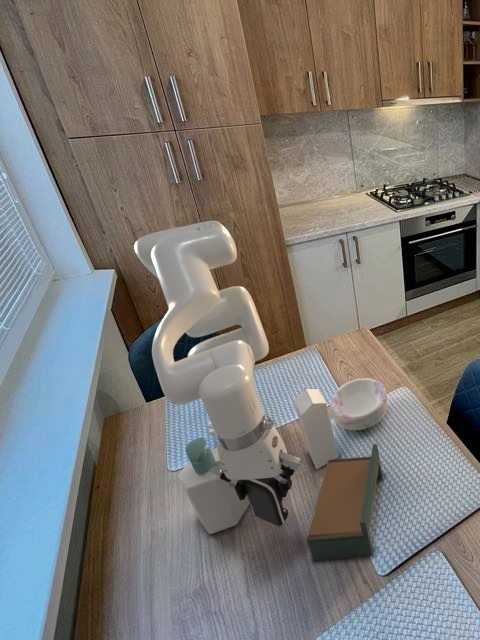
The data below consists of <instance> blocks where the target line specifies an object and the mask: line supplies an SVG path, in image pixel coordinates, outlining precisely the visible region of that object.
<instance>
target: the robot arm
mask: <svg viewBox="0 0 480 640" xmlns="http://www.w3.org/2000/svg"><path fill="white" fill-rule="evenodd" d="M133 246H134V252H135V254H136V256H137V258H138V259H139V260H140V262H141V263H142V264H143V266H144V267H145V268H146V269H147V270H148V271H149V272H150V273H151V274H153V275H154V277H156V278H158V281H159V284H160V287H161V290H162V293H163V296H164V299H165V302H166V304H167V308H168V310H167V311H166V313H165V315H164V317H162V320H161V321H160V323H159V324H158V326H157V329H156V331H155V334H154V336H153V339H152V343H151V344H152V346H151V357H152V361H153V365H154V368H155V372H156V375H157V378H158V383H159V384H160V388H161V391H162V393H163V395H164V397H165V398H166V399H167V400H168V402H170V403H171V404H173V405H176V406H182V405H187V404H190V403H193V402H195V401H198V400H200V399H201V402H202V404H203V407H204V410H205V411H206V413H207V416H208V418H209V422H208V424H207V428H208V431H207V432H208V435H209V436H212V435H216V437H217V442H216V443H217V444H216V445H217V446H216V448H217V447H218V456H219V461H218V462H217V463H215V464H214V465H213V467H212V469H211V471H210V472H211V473H213V474H215V475H217V476H220V479H222V480H224V481H226V482H229V486H230V487H234V488H235V491H236V493H237V495H238V497H239V499H240V500H244V499H245V497H246V495H247V494H246V491H245V489H244V482H245V480H246V479H260V478H271V477H274V478H275V479H276V480H278V481H279V483H278V487H279V490H280V493H281V495H282V497H283V498H286V497H287V495H288V492H289V491H290V490H291V489H292V485H293V481H292V480H293V479H292V477H293V475H294V474H295V472H296V471H297V470H298V469H299V468H300V467H301V463H302V459H301V458H300V457H297V456H294V455H291V454H289V453H288V451H287V448H286V446H285V443H284V441H283V439H282V437H281V434H280V433H279V431H278V430H277V429H276V427H275V426H274V421H273V420H269V419H268V417H267V416H266V415H265V414H264V412H263V409H262V405H261V402H260V400H259V396H258V394H257V391H256V388H255V384H254V366H255V364H256V362H258V361H260V360H262V359H264V358H265V357H266V356H267V355H268V354H269V351H270V348H269V342H268V341H269V340H268V338H267V336H266V333H265V330H264V328H263V327H264V326H263V324H262V322H261V318H260V316H259V313H258V310H257V307H256V304H255V302H254V300H253V297H252V295H251V294H250V292H249V291H248V290H247V289H246V288H245V287H243V286H240V285H234V286H229V287H227V288H223V289H220V290H219V289H218V287H217V284H216V282H215V279H214V277H213V275H212V272H211V270H214V269H218V268H221V267H224V266H227V265H231V264H233V263H235V262H236V261H237V259H238V252H237V251H238V249H237V246H236V242H235V240H234V239H233V236H232V234H231V233H230V232H229V230H228V229H227V228H226V227H225V226H224V225H223V224H222V223H221V222H219V221H217V220H205V221H202V222H197V223H193V224H188V225H183V226H177V227H172V228H169V229H164V230H159V231H156V232H152V233H148V234H146V235H144V236H141V237H139V238H138V239H137V240H136V241H135V243H134V245H133ZM234 326H241V327H240V328H237V329H234V330H231V331H229V332H228V331H227V332H225V333H222V334H220V335H217V336H214V337H211V338H208V339H206V340H203V341H201V342H199V343H197V344H196V345H193V346H192V348H191V349H190V350H189V351H188V353H187V357H184V358H182V359H178V360H177V361H175V359H174V349H175V346H176V344H177V343H178V341H179V340H180V339H181V338H182V336H183V335H184V334H186V335H187V336H188V337H190V338H200V337H205V336H208V335H211V334H214V333H217V332H220V331H223V330H225V329H228V328H231V327H234ZM281 470H282V471H281Z"/></svg>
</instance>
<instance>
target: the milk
mask: <svg viewBox="0 0 480 640" xmlns="http://www.w3.org/2000/svg"><path fill="white" fill-rule="evenodd" d="M302 387H303V390H302V391H301V392H300V393H299V394H298V395H297V396H296V397H295V398H294V399H293V402H294V406H295V409H296V410H295V411H296V413H297V416H298V421H299V423H300V427H301V430H302V434H303V438H304V442H305V445H306V448H307V451H308V454H309V456H310V459H311V461H312V463H313V465H314V468H315V470H319V469H321V468H322V467H324V466H327V464H328V460H332V459H339V457H340V454H339V450H338V446H337V442H336V438H335V434H334V429H333V424H332V421H331V418H330V414H329V409H328V406H327V402H326V400H325V399H324V397H323V395H322V393H321V392H320V390H319V389H318V388H306V386H305V385H304V384H303V385H302Z"/></svg>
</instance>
